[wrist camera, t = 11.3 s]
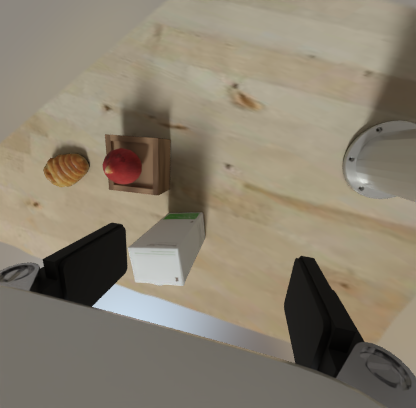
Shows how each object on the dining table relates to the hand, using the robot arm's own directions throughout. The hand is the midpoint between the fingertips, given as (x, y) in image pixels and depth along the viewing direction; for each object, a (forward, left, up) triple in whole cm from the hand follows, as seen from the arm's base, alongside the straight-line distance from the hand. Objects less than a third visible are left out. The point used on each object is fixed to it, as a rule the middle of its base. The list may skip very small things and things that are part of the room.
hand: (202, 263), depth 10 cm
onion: (+18, -2, -25) cm, 30 cm away
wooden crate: (+18, -2, -29) cm, 34 cm away
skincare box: (+9, +11, -30) cm, 33 cm away
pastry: (+37, +1, -30) cm, 47 cm away
